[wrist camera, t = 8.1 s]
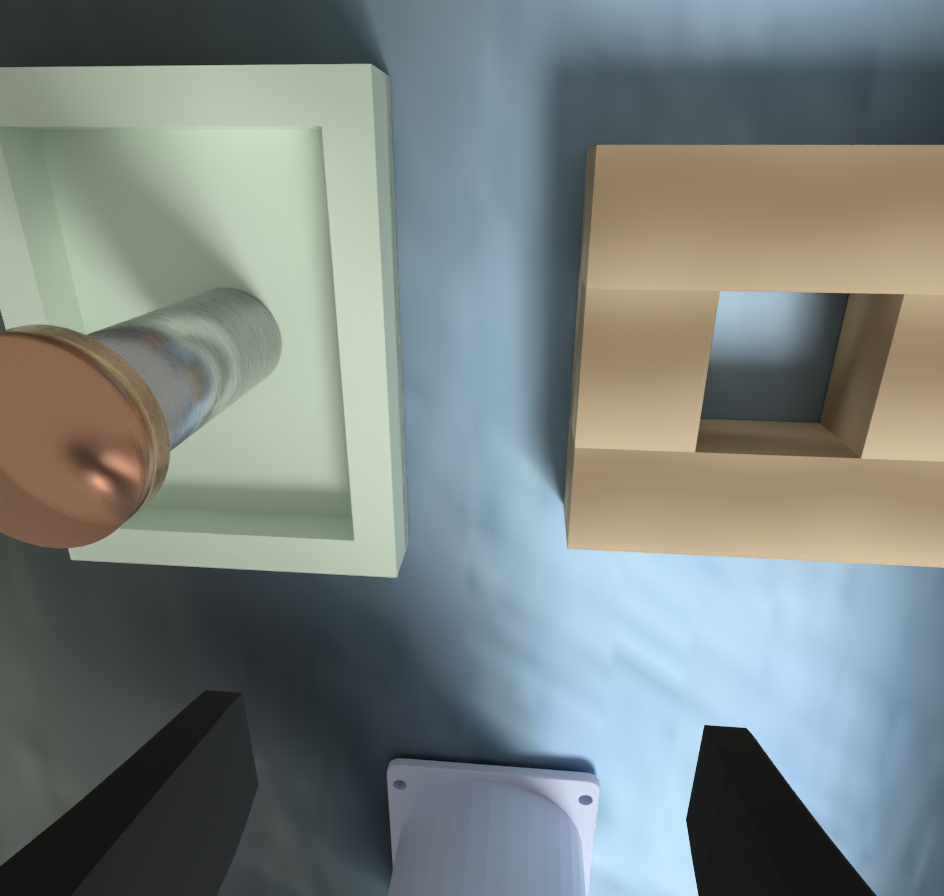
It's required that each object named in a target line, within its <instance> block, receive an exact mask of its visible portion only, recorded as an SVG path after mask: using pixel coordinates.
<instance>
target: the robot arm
mask: <svg viewBox="0 0 944 896" xmlns="http://www.w3.org/2000/svg"><path fill="white" fill-rule="evenodd" d="M400 780H401V781H400ZM387 786H388V801H389V816H390V831H391V846H392V861H393V872H392V877H391V881H390V886H389V891H388V896H588V891H589V883H590V874H591V865H592V857H593V848H594V839H595V831H596V822H597V813H598V805H599V796H600V785H599V779H598V778H597V777H596V776H595V775H593V774H591V773H586V772H573V771H560V770H547V769H534V768H521V767H508V766H495V765H482V764H469V763H456V762H443V761H430V760H417V759H404V758H397V759H394V760H392V761H391V762H390V763H389V765H388V770H387ZM257 788H258V779H257V774H256V768H255V763H254V757H253V751H252V746H251V740H250V734H249V729H248V723H247V718H246V712H245V706H244V701H243V695H242V693H237V692H223V691H208V690H205V691H204V692H203V693H202V694H201V695H200V696H198V697H197V698H196V699H195V700H194V701H193V702H192V703H190V704H189V705H188V706H187V707H186V708H185V709H184V710H182V711H181V712H180V713H179V714H178V715H177V716H176V717H175V718H173V719H172V720H171V721H170V722H169V723H168V724H167V725H166V726H165V727H163V728H162V729H161V730H160V731H159V732H158V733H157V734H156V735H155V736H153V737H152V738H151V739H150V740H149V741H148V742H147V743H146V744H145V745H143V746H142V747H141V748H140V749H139V750H138V751H137V752H136V753H134V754H133V755H132V756H131V757H130V758H129V759H128V760H127V761H126V762H124V763H123V764H122V765H121V766H120V767H119V768H118V769H116V770H115V771H114V772H113V773H112V774H111V775H109V776H108V777H107V778H106V779H105V780H104V781H103V782H101V783H100V784H99V785H98V786H97V787H96V788H95V789H93V790H92V791H91V792H90V793H89V794H88V795H86V796H85V797H84V798H83V799H82V800H81V801H80V802H78V803H77V804H76V805H75V806H74V807H73V808H71V809H70V810H69V811H68V812H67V813H65V814H64V815H63V816H62V817H61V818H59V819H58V820H57V821H56V822H54V823H53V824H52V825H51V826H49V827H48V828H47V829H46V830H45V831H43V832H42V833H41V834H40V835H38V836H37V837H36V838H35V839H33V840H32V841H31V842H30V843H29V844H27V845H26V846H25V847H24V848H22V849H21V850H20V851H19V852H17V853H16V854H15V855H14V856H13V857H11V858H10V859H9V860H8V861H6V862H5V863H4V864H3V865H1V866H0V896H217V893H218V891H219V889H220V887H221V885H222V882H223V880H224V878H225V876H226V874H227V871H228V869H229V867H230V865H231V862H232V860H233V858H234V856H235V853H236V850H237V848H238V845H239V842H240V839H241V836H242V833H243V830H244V828H245V825H246V822H247V819H248V816H249V813H250V810H251V806H252V803H253V800H254V797H255V794H256V791H257ZM583 795H586V796H583ZM686 822H687V828H688V835H689V841H690V847H691V854H692V860H693V866H694V872H695V878H696V883H697V889H698V895H699V896H876V895H875V893H874V892H873V891H872V890H871V889H870V887H869V886H868V885H867V884H866V882H865V881H864V880H863V879H862V877H861V876H860V875H859V874H858V873H857V871H856V870H855V869H854V868H853V866H852V865H851V864H850V863H849V861H848V860H847V859H846V858H845V856H844V855H843V854H842V853H841V851H840V850H839V849H838V848H837V846H836V845H835V844H834V843H833V841H832V840H831V839H830V838H829V836H828V835H827V834H826V833H825V831H824V830H823V829H822V827H821V826H820V825H819V824H818V822H817V821H816V820H815V818H814V817H813V816H812V815H811V813H810V812H809V811H808V809H807V808H806V807H805V805H804V804H803V803H802V801H801V800H800V799H799V797H798V796H797V795H796V793H795V792H794V791H793V789H792V788H791V787H790V785H789V784H788V783H787V781H786V780H785V779H784V777H783V776H782V775H781V773H780V772H779V771H778V769H777V768H776V766H775V765H774V764H773V762H772V761H771V760H770V758H769V757H768V755H767V754H766V753H765V751H764V750H763V749H762V747H761V746H760V745H759V743H758V742H757V740H756V739H755V738H754V736H753V735H752V734H751V733H750V732H749V731H748V729H747V728H738V727H723V726H709V725H704V730H703V736H702V741H701V746H700V751H699V756H698V761H697V766H696V772H695V777H694V782H693V787H692V792H691V797H690V803H689V808H688V813H687V818H686Z"/></svg>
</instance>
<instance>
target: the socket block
mask: <svg viewBox="0 0 944 896" xmlns="http://www.w3.org/2000/svg"><path fill="white" fill-rule="evenodd" d="M720 291H756V292H812V293H850V294H849V298H848V302H847V306H846V311H845V315H844V319H843V324H842V328H841V332H840V337H839V341H838V345H837V350H836V354H835V358H834V363H833V367H832V371H831V376H830V380H829V384H828V389H827V393H826V397H825V402H824V406H823V410H822V415H821V419H820V423H815V422H785V421H755V420H725V419H700V417H701V410H702V404H703V397H704V391H705V384H706V378H707V371H708V365H709V358H710V352H711V345H712V338H713V332H714V325H715V319H716V312H717V306H718V299H719V293H720ZM564 516H565V527H566V538H567V549H584V550H604V551H624V552H644V553H664V554H684V555H704V556H724V557H744V558H764V559H784V560H804V561H824V562H845V563H865V564H885V565H905V566H925V567H944V145H595V146H593V147H591V148H589V149H588V151H587V166H586V181H585V195H584V210H583V225H582V240H581V255H580V269H579V284H578V299H577V314H576V329H575V344H574V358H573V373H572V388H571V403H570V418H569V432H568V447H567V462H566V477H565V492H564Z"/></svg>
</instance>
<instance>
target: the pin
mask: <svg viewBox="0 0 944 896" xmlns="http://www.w3.org/2000/svg"><path fill="white" fill-rule="evenodd" d="M281 351H282V339H281V333H280V330H279V327H278V324H277V322H276V320H275V318H274V317H273V315H272V313H271V312H270V311H269V309H268V308H267V307H266V306H265V305H264V304H263V303H262V302H261V301H260V300H258V299H257V298H256V297H254V296H252V295H251V294H249V293H247V292H244V291H242V290H239V289H234V288H216V289H212V290H209V291H206V292H204V293H201V294H198V295H195V296H192V297H190V298H187V299H184V300H181V301H179V302H176V303H173V304H170V305H167V306H165V307H162V308H159V309H156V310H154V311H151V312H148V313H145V314H142V315H140V316H137V317H134V318H131V319H129V320H126V321H123V322H120V323H117V324H115V325H112V326H109V327H106V328H103V329H101V330H98V331H95V332H92V333H90V334H87V335H85V334H83V333H80V332H77V331H74V330H71V329H68V328H63V327H59V326H54V325H43V324H36V325H24V326H19V327H14V328H11V329H7V330H4V331H0V532H1V533H3V534H5V535H7V536H10V537H12V538H14V539H17V540H20V541H23V542H26V543H29V544H33V545H37V546H42V547H50V548H75V547H82V546H86V545H89V544H93V543H95V542H97V541H100V540H102V539H104V538H106V537H107V536H109V535H110V534H112V533H113V532H114V531H116V530H117V529H118V528H119V527H120V526H121V525H123V524H124V523H125V522H126V521H127V520H129V519H130V518H131V517H132V516H133V515H134V514H136V513H137V512H138V511H139V510H140V509H141V508H143V507H144V506H145V505H146V504H147V503H148V502H149V501H150V500H151V499H152V498H153V497H154V496H155V495H156V493H157V492H158V491H159V489H160V488H161V486H162V484H163V482H164V480H165V477H166V474H167V471H168V467H169V460H170V451H171V450H173V449H174V448H175V447H177V446H178V445H179V444H181V443H182V442H183V441H185V440H186V439H187V438H188V437H190V436H191V435H192V434H194V433H195V432H196V431H198V430H199V429H200V428H202V427H203V426H204V425H205V424H207V423H208V422H209V421H211V420H212V419H213V418H215V417H216V416H217V415H219V414H220V413H221V412H222V411H224V410H225V409H226V408H228V407H229V406H230V405H232V404H233V403H234V402H236V401H237V400H238V399H239V398H241V397H242V396H243V395H245V394H246V393H247V392H249V391H250V390H251V389H253V388H254V387H255V386H256V385H258V384H259V383H260V382H262V381H263V380H264V379H266V378H267V377H268V376H269V375H270V374H271V373H272V372H273V371H274V369H275V368H276V366H277V364H278V362H279V360H280V356H281Z"/></svg>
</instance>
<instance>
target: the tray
mask: <svg viewBox="0 0 944 896" xmlns="http://www.w3.org/2000/svg"><path fill="white" fill-rule="evenodd" d="M216 288H234V289H239V290H242V291H244V292H247V293H249V294H251V295H252V296H254V297H256V298H257V299H258V300H260V301H261V302H262V303H263V304H264V305H265V306H266V307H267V308H268V309H269V311H270V312H271V313H272V315H273V317H274V318H275V320H276V322H277V324H278V327H279V330H280V333H281V339H282V351H281V356H280V360H279V362H278V364H277V366H276V368H275V369H274V371H273V372H272V373H271V374H270V375H269V376H268V377H267V378H266V379H264V380H263V381H262V382H260V383H259V384H258V385H256V386H255V387H254V388H253V389H251V390H250V391H249V392H247V393H246V394H245V395H243V396H242V397H241V398H239V399H238V400H237V401H236V402H234V403H233V404H232V405H230V406H229V407H228V408H226V409H225V410H224V411H222V412H221V413H220V414H219V415H217V416H216V417H215V418H213V419H212V420H211V421H209V422H208V423H207V424H205V425H204V426H203V427H202V428H200V429H199V430H198V431H196V432H195V433H194V434H192V435H191V436H190V437H188V438H187V439H186V440H185V441H183V442H182V443H181V444H179V445H178V446H177V447H175V448H174V449H173V450H171V451H170V460H169V467H168V471H167V474H166V477H165V480H164V482H163V484H162V486H161V488H160V489H159V491H158V492H157V493H156V495H155V496H154V497H153V498H152V499H151V500H150V501H149V502H148V503H147V504H146V505H145V506H144V507H143V508H141V509H140V510H139V511H138V512H137V513H136V514H134V515H133V516H132V517H131V518H130V519H129V520H127V521H126V522H125V523H124V524H123V525H121V526H120V527H119V528H118V529H117V530H116V531H114V532H113V533H112V534H110V535H109V536H107V537H106V538H104V539H102V540H100V541H97V542H95V543H93V544H89V545H86V546H82V547H75V548H68V550H69V554H70V558H71V560H81V561H99V562H118V563H136V564H155V565H173V566H191V567H210V568H228V569H246V570H265V571H283V572H301V573H320V574H338V575H356V576H375V577H393V578H397V576H398V573H399V570H400V567H401V564H402V561H403V558H404V555H405V552H406V549H407V546H408V543H409V535H408V510H407V485H406V461H405V436H404V411H403V386H402V362H401V337H400V312H399V287H398V263H397V238H396V213H395V188H394V164H393V139H392V114H391V89H390V76H388V75H387V74H385V73H384V72H382V71H381V70H379V69H378V68H376V67H375V66H374V65H372V64H298V65H194V66H91V67H0V310H1V314H2V317H3V321H4V325H5V328H6V330H7V329H11V328H14V327H19V326H24V325H36V324H43V325H54V326H59V327H63V328H68V329H71V330H74V331H77V332H80V333H83V334H85V335H87V334H90V333H92V332H95V331H98V330H101V329H103V328H106V327H109V326H112V325H115V324H117V323H120V322H123V321H126V320H129V319H131V318H134V317H137V316H140V315H142V314H145V313H148V312H151V311H154V310H156V309H159V308H162V307H165V306H167V305H170V304H173V303H176V302H179V301H181V300H184V299H187V298H190V297H192V296H195V295H198V294H201V293H204V292H206V291H209V290H212V289H216Z"/></svg>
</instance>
